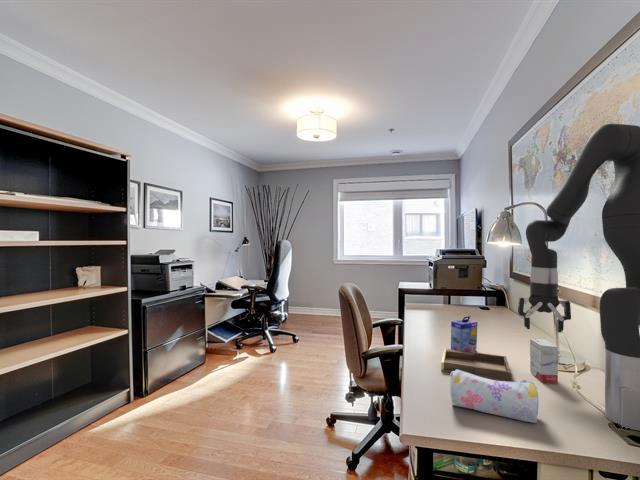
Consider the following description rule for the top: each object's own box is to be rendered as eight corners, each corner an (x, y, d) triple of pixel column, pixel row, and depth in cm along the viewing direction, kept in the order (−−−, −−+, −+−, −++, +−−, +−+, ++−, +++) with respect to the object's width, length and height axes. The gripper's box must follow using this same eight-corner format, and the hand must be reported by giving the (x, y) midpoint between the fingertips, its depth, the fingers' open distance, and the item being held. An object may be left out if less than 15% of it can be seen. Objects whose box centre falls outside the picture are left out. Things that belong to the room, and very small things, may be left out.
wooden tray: (511, 382, 104) (511, 372, 104) (441, 371, 113) (441, 362, 113) (505, 364, 119) (505, 356, 119) (444, 356, 127) (444, 348, 127)
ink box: (558, 384, 103) (558, 346, 103) (541, 383, 104) (541, 345, 104) (545, 373, 111) (545, 338, 111) (529, 372, 112) (529, 338, 112)
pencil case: (536, 413, 85) (536, 377, 85) (542, 431, 78) (542, 391, 78) (450, 397, 94) (450, 364, 94) (448, 411, 86) (448, 375, 86)
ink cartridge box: (461, 355, 129) (461, 318, 129) (449, 351, 134) (449, 315, 134) (478, 351, 133) (478, 315, 133) (466, 347, 138) (466, 313, 138)
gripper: (520, 281, 107) (519, 330, 107) (574, 283, 101) (573, 336, 101) (517, 278, 114) (516, 325, 114) (567, 281, 108) (566, 330, 108)
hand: (543, 330), depth 107 cm, fingers open, 8 cm apart
